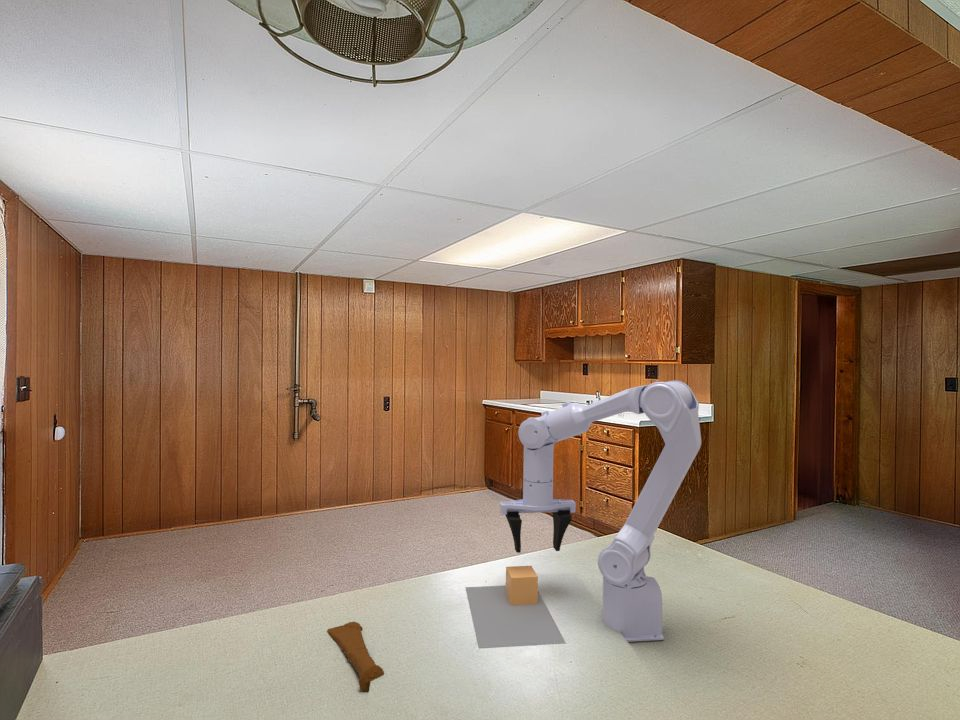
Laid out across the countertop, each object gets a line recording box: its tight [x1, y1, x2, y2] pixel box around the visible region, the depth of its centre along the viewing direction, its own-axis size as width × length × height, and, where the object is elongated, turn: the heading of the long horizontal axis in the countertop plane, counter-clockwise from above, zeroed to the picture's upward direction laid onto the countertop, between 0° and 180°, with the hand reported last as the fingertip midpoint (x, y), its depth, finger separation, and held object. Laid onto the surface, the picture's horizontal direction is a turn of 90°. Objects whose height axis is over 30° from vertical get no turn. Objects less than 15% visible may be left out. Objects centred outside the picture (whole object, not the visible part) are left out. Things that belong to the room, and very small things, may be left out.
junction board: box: [465, 585, 567, 649], centre depth 90 cm, size 14×21×4 cm, turn 7°
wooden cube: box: [505, 565, 539, 605], centre depth 95 cm, size 5×5×5 cm
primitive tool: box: [326, 621, 385, 692], centre depth 79 cm, size 19×6×4 cm, turn 31°
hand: (537, 549), depth 97 cm, fingers open, 7 cm apart
